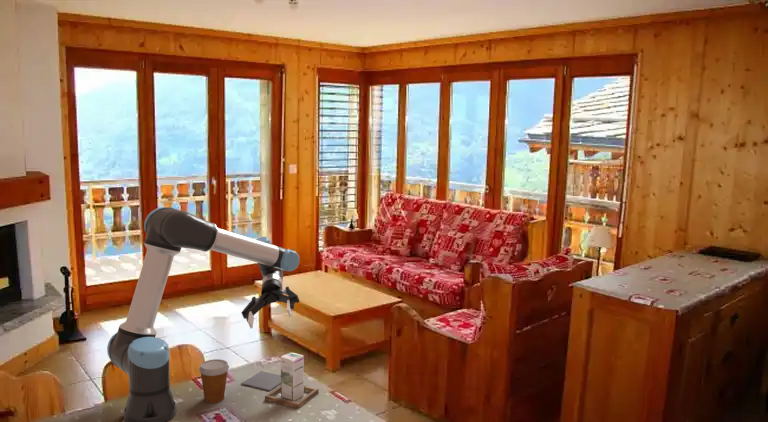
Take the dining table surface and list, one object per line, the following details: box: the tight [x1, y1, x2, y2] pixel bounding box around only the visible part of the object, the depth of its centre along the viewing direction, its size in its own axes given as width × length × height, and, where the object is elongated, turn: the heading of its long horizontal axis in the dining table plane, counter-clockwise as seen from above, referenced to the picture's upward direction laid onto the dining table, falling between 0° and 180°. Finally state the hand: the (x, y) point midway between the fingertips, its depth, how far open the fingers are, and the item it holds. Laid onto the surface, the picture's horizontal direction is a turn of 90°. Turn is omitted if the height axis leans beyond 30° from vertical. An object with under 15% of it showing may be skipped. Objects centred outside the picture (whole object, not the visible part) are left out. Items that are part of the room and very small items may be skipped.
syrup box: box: [280, 351, 305, 402], centre depth 199 cm, size 6×6×14 cm
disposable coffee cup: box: [198, 358, 230, 404], centre depth 196 cm, size 10×10×12 cm
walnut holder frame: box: [264, 385, 320, 409], centre depth 200 cm, size 13×13×2 cm
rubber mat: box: [240, 370, 281, 392], centre depth 211 cm, size 12×12×1 cm
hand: (269, 319), depth 198 cm, fingers open, 13 cm apart
